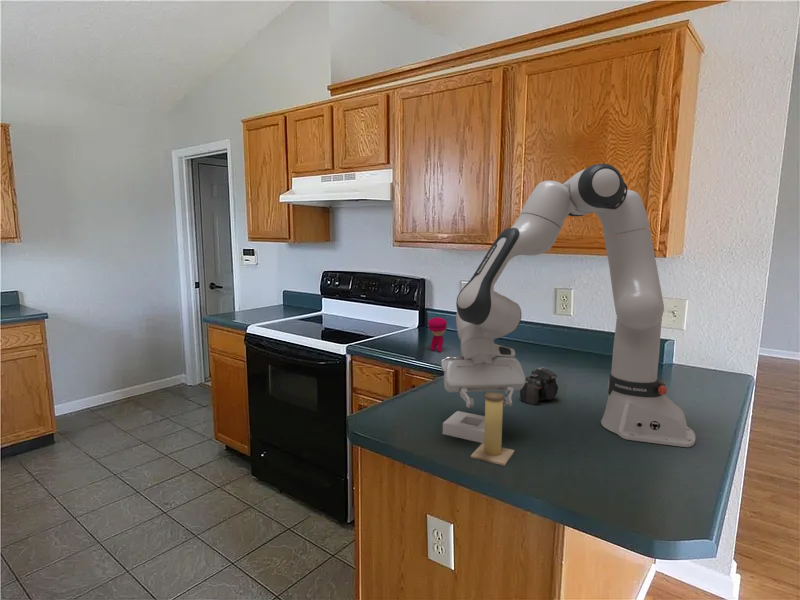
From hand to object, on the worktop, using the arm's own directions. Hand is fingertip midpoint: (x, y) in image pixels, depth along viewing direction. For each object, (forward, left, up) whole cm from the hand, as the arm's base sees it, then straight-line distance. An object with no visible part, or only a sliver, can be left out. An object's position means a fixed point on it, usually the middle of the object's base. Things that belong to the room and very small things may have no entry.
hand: (489, 405), depth 118 cm
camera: (-3, -42, -11) cm, 43 cm away
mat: (-3, +4, -10) cm, 11 cm away
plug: (-2, +3, -10) cm, 10 cm away
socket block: (+6, -6, -10) cm, 14 cm away
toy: (+50, -82, -10) cm, 97 cm away
